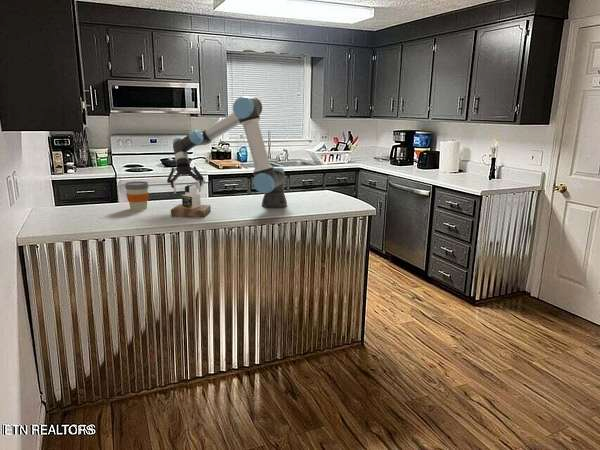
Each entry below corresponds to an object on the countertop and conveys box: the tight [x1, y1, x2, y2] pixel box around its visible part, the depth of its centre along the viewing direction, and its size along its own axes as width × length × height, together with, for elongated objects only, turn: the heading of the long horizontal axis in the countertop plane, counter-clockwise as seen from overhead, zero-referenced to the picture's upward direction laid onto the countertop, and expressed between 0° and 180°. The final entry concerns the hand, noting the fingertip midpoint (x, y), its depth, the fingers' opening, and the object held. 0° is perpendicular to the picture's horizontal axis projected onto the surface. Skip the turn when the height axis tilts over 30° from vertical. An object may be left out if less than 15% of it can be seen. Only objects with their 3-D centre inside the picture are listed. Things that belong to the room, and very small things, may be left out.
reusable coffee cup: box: [124, 180, 150, 211], centre depth 252 cm, size 13×13×15 cm
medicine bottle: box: [181, 184, 202, 209], centre depth 240 cm, size 7×7×12 cm
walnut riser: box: [170, 204, 212, 219], centre depth 241 cm, size 18×14×4 cm
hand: (187, 191), depth 246 cm, fingers open, 13 cm apart
